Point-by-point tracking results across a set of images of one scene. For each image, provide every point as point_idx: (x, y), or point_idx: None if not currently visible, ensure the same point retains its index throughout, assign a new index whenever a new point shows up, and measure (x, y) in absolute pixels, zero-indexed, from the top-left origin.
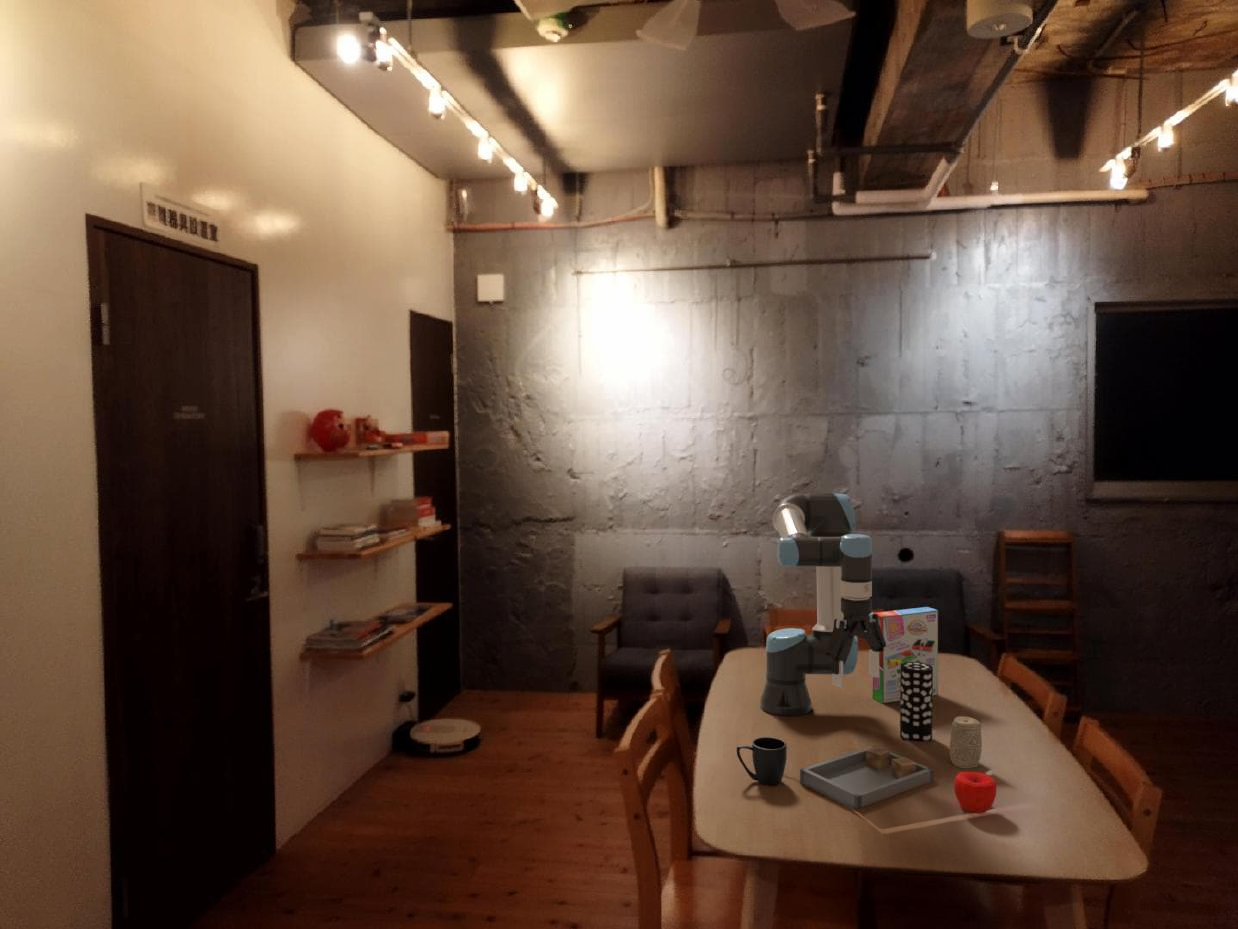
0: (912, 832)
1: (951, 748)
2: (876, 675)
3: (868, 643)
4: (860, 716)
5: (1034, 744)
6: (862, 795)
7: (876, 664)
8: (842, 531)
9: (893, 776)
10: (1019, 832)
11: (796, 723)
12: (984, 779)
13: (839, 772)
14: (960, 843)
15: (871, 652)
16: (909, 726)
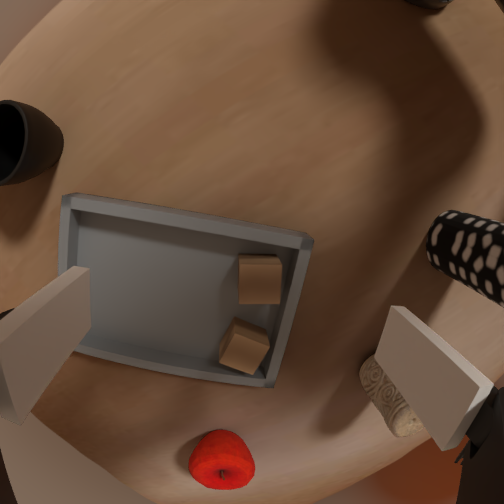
0: (94, 409)
1: (377, 373)
2: (379, 360)
3: (498, 439)
4: (476, 101)
5: (489, 370)
6: None
7: (407, 395)
8: None
9: (231, 321)
10: None
11: (360, 3)
12: (231, 482)
13: (162, 229)
14: (124, 450)
15: (460, 405)
16: (446, 252)
